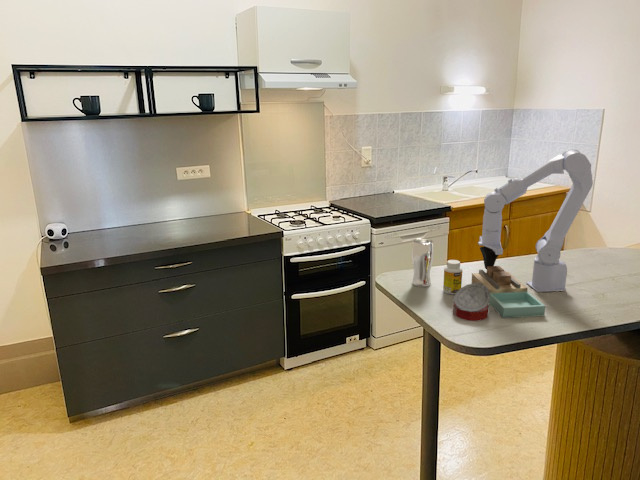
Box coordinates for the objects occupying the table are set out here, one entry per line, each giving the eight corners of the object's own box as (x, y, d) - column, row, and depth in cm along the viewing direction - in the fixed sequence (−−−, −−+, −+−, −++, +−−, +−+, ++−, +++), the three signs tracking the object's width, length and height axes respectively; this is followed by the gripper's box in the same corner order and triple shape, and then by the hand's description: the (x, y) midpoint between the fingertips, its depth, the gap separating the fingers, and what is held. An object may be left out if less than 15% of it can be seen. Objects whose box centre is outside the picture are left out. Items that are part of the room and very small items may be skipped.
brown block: (498, 274, 159) (499, 265, 159) (503, 278, 156) (504, 270, 155) (486, 275, 159) (487, 266, 158) (491, 279, 155) (492, 270, 154)
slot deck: (506, 283, 163) (508, 268, 161) (526, 300, 149) (528, 284, 148) (471, 284, 162) (472, 270, 161) (487, 301, 149) (489, 286, 147)
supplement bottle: (452, 296, 153) (454, 265, 150) (439, 291, 158) (440, 261, 155) (464, 292, 156) (466, 262, 153) (451, 287, 161) (452, 257, 158)
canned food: (487, 330, 141) (502, 308, 135) (456, 331, 139) (469, 309, 132) (473, 299, 149) (486, 278, 143) (443, 300, 147) (454, 278, 140)
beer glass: (423, 289, 159) (425, 245, 155) (406, 283, 164) (407, 241, 160) (436, 283, 164) (438, 240, 159) (419, 278, 169) (421, 236, 164)
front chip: (504, 280, 155) (505, 271, 154) (510, 284, 151) (511, 275, 150) (492, 280, 154) (493, 271, 154) (497, 285, 151) (498, 276, 150)
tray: (526, 300, 149) (527, 291, 148) (544, 315, 139) (545, 305, 138) (488, 302, 148) (488, 293, 148) (503, 317, 138) (503, 308, 137)
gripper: (471, 224, 165) (469, 262, 169) (488, 236, 151) (485, 277, 155) (492, 223, 165) (489, 261, 169) (510, 235, 151) (507, 276, 155)
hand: (488, 268), depth 162 cm, fingers closed
